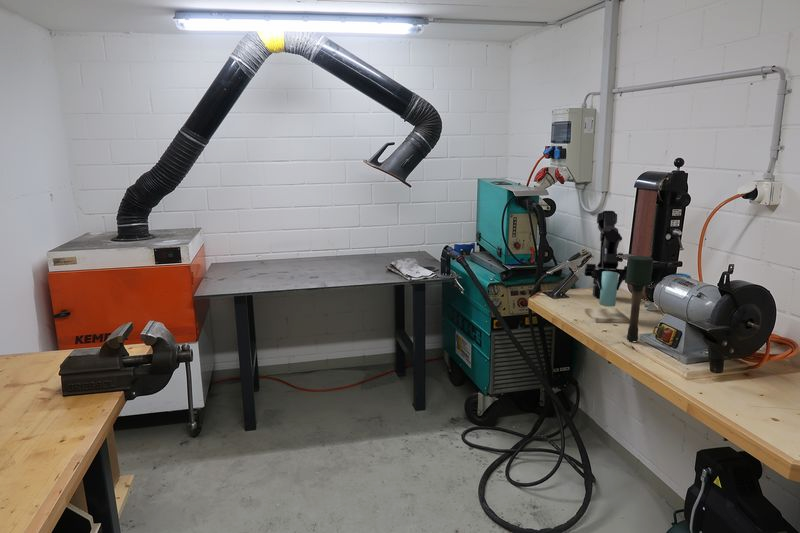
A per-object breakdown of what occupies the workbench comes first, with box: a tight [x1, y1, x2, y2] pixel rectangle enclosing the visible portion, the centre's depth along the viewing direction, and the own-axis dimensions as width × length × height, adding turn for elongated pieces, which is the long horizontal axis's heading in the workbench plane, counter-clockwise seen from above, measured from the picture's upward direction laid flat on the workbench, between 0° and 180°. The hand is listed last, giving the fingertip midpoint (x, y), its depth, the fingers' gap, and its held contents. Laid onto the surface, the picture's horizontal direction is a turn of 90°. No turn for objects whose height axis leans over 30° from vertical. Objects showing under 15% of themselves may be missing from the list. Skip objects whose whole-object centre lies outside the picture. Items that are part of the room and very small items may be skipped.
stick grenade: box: [624, 255, 654, 342], centre depth 185 cm, size 8×9×30 cm
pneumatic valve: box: [641, 298, 658, 312], centre depth 222 cm, size 6×12×12 cm, turn 105°
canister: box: [598, 271, 619, 308], centre depth 212 cm, size 6×6×13 cm
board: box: [584, 308, 630, 323], centre depth 214 cm, size 13×13×2 cm
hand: (609, 289), depth 210 cm, fingers closed on canister, 6 cm apart
